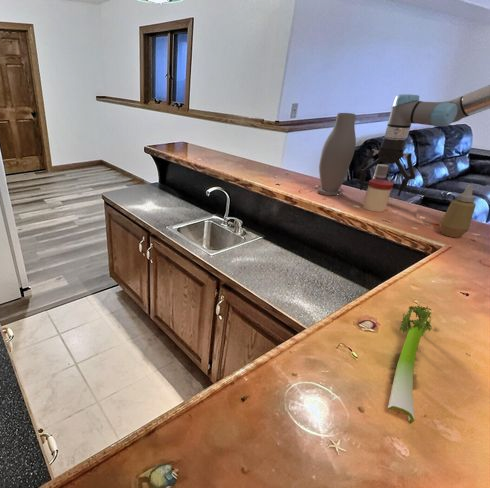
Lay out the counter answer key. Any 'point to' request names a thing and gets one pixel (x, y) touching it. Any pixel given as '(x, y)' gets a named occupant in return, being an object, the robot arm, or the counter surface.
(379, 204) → the jar
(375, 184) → the lid
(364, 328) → the counter surface
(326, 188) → the vase
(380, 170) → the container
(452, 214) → the squeeze bottle
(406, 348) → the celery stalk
